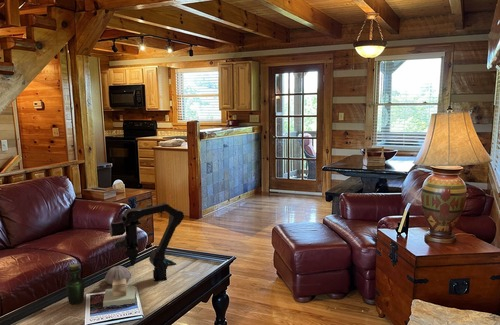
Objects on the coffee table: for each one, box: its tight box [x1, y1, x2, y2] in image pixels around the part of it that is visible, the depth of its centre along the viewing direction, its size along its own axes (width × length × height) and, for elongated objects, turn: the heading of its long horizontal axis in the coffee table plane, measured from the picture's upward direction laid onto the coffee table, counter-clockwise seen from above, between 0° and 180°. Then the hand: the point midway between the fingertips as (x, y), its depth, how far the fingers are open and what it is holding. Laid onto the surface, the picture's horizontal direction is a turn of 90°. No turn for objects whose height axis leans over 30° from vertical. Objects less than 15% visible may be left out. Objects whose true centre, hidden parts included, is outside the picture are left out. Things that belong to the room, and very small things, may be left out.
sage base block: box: [102, 285, 136, 307], centre depth 187 cm, size 14×14×3 cm
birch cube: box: [111, 279, 128, 297], centre depth 187 cm, size 6×6×6 cm
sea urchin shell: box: [104, 265, 132, 286], centre depth 208 cm, size 13×14×8 cm
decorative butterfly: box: [164, 257, 177, 265], centre depth 231 cm, size 10×6×10 cm
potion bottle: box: [65, 263, 85, 305], centre depth 185 cm, size 8×8×18 cm
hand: (132, 262), depth 203 cm, fingers open, 9 cm apart
